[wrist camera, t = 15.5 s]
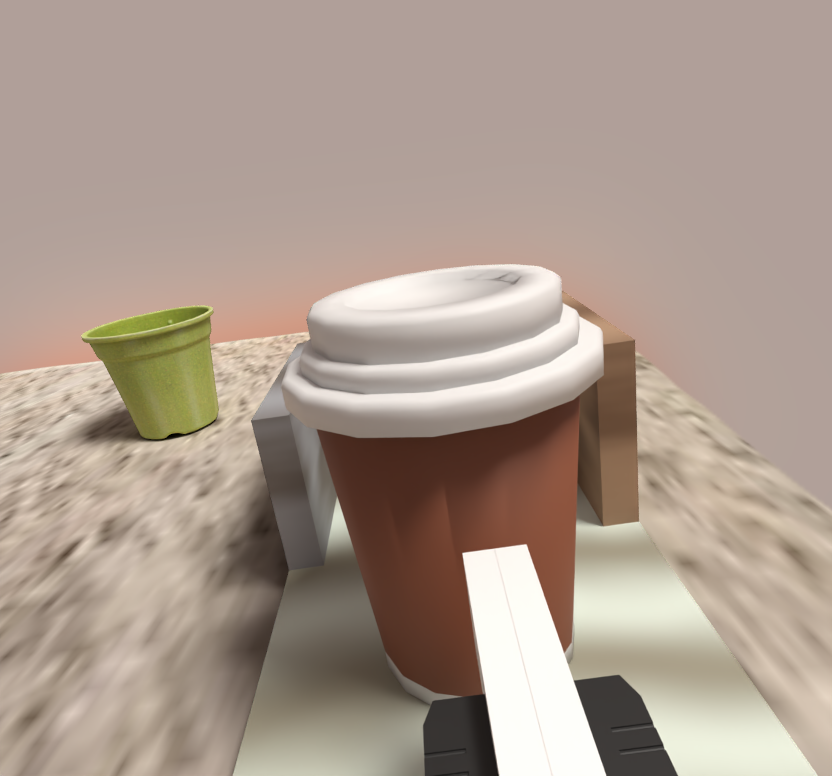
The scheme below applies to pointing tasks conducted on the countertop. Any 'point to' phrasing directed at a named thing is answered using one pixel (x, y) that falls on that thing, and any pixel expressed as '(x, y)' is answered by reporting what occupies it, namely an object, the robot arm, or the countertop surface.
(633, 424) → the shelf
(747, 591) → the countertop surface
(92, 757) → the countertop surface
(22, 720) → the countertop surface
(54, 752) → the countertop surface
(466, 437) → the coffee cup
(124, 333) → the plant pot
